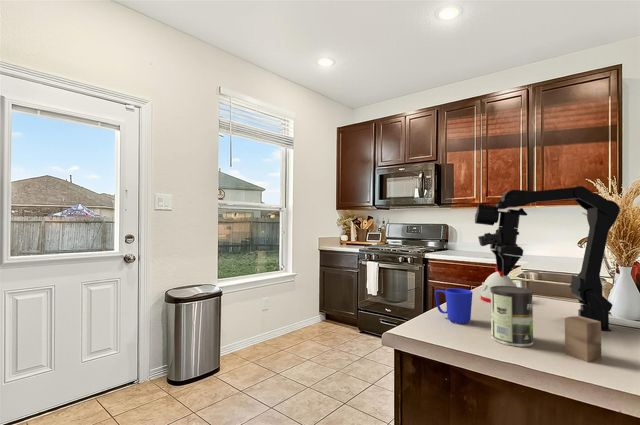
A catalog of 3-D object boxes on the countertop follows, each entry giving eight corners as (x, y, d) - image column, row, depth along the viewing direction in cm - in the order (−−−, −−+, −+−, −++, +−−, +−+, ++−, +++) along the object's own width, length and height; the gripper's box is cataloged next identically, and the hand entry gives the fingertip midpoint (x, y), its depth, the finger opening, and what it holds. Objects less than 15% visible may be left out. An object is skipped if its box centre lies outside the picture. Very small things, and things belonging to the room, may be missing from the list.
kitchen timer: (512, 297, 141) (511, 262, 141) (524, 305, 127) (523, 267, 128) (477, 295, 144) (476, 261, 144) (485, 303, 130) (484, 266, 131)
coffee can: (533, 337, 93) (532, 287, 93) (534, 350, 84) (533, 294, 84) (492, 331, 98) (491, 284, 99) (489, 342, 90) (488, 290, 90)
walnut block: (579, 351, 83) (578, 315, 84) (601, 359, 79) (600, 321, 79) (565, 353, 82) (564, 317, 82) (587, 362, 77) (586, 323, 77)
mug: (441, 313, 116) (441, 285, 116) (476, 321, 108) (476, 290, 108) (430, 318, 111) (430, 289, 111) (466, 327, 102) (466, 295, 102)
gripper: (477, 223, 121) (472, 265, 122) (486, 224, 104) (480, 273, 104) (511, 228, 118) (505, 271, 118) (526, 229, 100) (519, 280, 100)
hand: (501, 273), depth 110 cm, fingers open, 9 cm apart
